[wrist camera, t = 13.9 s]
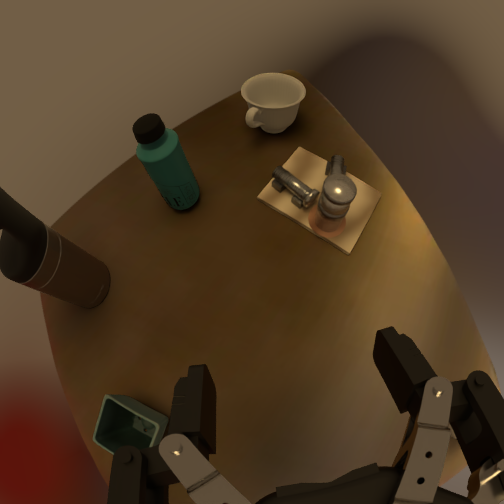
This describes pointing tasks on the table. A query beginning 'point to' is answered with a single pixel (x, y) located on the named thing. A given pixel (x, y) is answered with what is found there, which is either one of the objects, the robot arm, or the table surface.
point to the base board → (313, 176)
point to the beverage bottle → (165, 162)
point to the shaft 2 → (335, 166)
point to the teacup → (272, 101)
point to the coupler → (334, 202)
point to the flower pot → (128, 424)
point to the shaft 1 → (294, 188)
